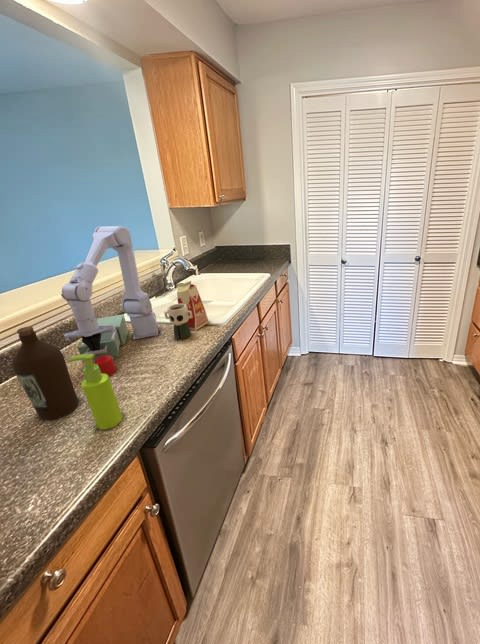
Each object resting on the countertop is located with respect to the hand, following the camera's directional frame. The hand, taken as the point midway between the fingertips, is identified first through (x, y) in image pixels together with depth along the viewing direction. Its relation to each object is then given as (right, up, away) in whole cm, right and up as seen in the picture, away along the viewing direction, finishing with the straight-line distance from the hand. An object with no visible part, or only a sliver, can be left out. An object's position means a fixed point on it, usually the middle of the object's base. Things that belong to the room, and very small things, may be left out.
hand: (97, 353), depth 112 cm
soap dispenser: (+19, -15, -27) cm, 36 cm away
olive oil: (+2, -14, -21) cm, 25 cm away
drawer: (-2, -1, +6) cm, 7 cm away
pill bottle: (-2, +13, +40) cm, 42 cm away
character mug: (+23, +5, +19) cm, 30 cm away
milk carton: (+24, +9, +29) cm, 39 cm away
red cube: (+6, -6, -4) cm, 9 cm away
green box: (-7, +3, +18) cm, 20 cm away
